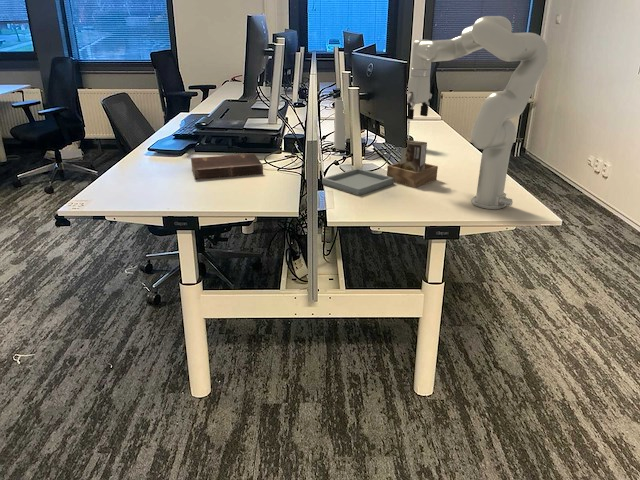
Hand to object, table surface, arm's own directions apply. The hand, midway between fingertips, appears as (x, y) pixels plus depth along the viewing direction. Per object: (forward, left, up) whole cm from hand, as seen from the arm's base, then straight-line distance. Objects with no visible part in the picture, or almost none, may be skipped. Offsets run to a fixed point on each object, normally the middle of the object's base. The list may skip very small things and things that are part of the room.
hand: (416, 117), depth 212 cm
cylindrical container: (+40, -46, -27) cm, 66 cm away
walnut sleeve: (0, 0, -26) cm, 26 cm away
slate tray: (+12, +21, -26) cm, 36 cm away
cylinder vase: (+57, -21, -27) cm, 66 cm away
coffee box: (0, 0, -27) cm, 27 cm away
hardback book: (+65, +49, -27) cm, 86 cm away
